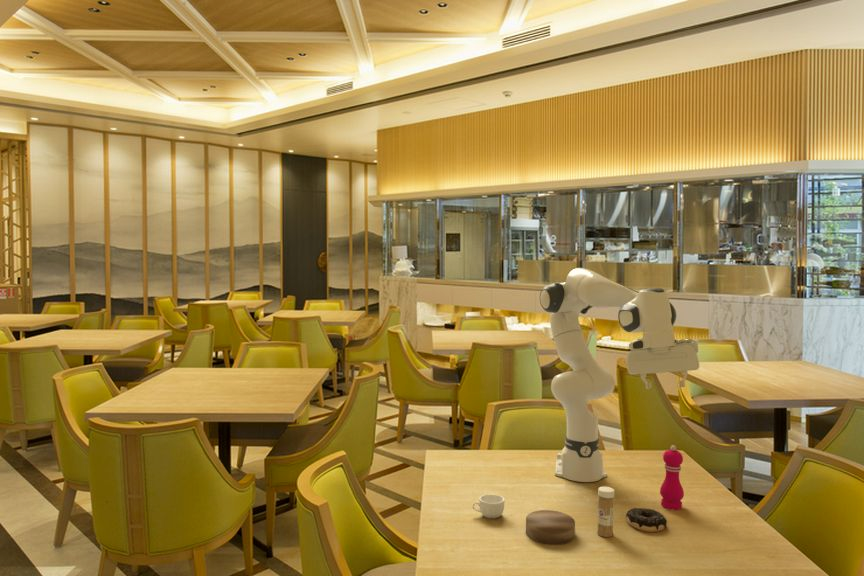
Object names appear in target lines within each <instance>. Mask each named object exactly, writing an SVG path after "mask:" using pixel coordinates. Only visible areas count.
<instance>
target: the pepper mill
mask: <svg viewBox="0 0 864 576" xmlns="http://www.w3.org/2000/svg"><path fill="white" fill-rule="evenodd" d="M662 460H663V462H664V470H665V477H664V479H663V482H662V483H661V486H660V488H659V494H660V496H661V497H662V498H661V501H660V503H661V504H660V505H661V507H662V508H665V509H667V510H672V511H677V510H681V509H682V508H683V502H682V500H683V499H684V496H685V495H684V493H685V491H684V488H683V486H682V484H681V480H680V472H681V471H682V466H681V464H683V462H684V457H683V454H682V453H681V452H680V451H678V450H677V447H676V445H674V444H672V445H671V446H670V449H667V450H666V451H665V452H663V455H662Z"/></svg>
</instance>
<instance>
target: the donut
mask: <svg viewBox="0 0 864 576" xmlns="http://www.w3.org/2000/svg"><path fill="white" fill-rule="evenodd" d="M625 518H626V519H625V520H626V522H627V523H628V524H629V525H630V526H632V527H633V528H634V529H636V530H639V531H642V532H647V533H658V532H661V531H664V530H665V529H667V523H668V520H667V519H666V517H665V516H664V514H663V513H661V512H659V511H658V510H654V509H650V508H645V507H633V508H629V510H627V512H626V514H625Z"/></svg>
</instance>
